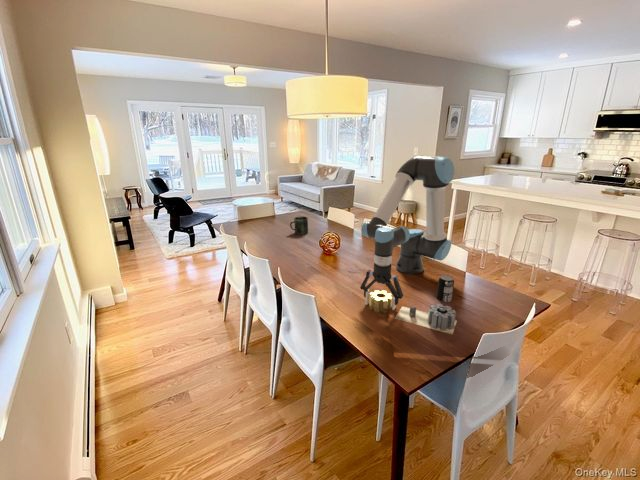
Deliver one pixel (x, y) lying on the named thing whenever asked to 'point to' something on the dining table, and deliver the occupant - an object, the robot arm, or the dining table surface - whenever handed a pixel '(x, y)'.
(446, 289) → the beverage can
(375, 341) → the dining table surface
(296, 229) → the mug
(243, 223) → the dining table surface
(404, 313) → the gear board
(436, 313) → the gear
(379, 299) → the brass gear
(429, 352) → the dining table surface
